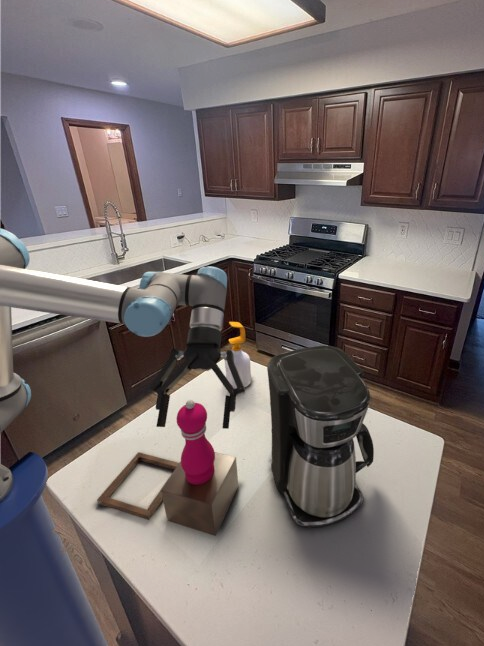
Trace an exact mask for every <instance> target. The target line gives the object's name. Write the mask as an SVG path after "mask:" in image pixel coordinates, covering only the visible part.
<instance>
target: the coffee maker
mask: <svg viewBox="0 0 484 646" xmlns="http://www.w3.org/2000/svg"><path fill="white" fill-rule="evenodd" d="M266 366H267V367H266V369H267V379H268V390H269V401H270V403H269V404H270V420H271V421H270V422H271V464H270V466H271V471H272V475H273V478H274V483H275V484H276V488H277V491H278V492H279V493H280V494H282V495H283V497H284V500H285V501H286V504H287V507H288V510H289V513H290V516H291V519H292V520H293V522H294V523H295V524H296V525H298V526H299V527H303V528H307V527H308V528H317V527H324V526H328V525H331V524H335V523H338V522H340V521H342V520H343V519H345V518H347V517H349V516H350V515H352V514H353V513H354V512H355V511H356V510H357V509H358V508H360V507H361V505H362V503H363V501H364V497H363V493H362V491H361V489H360V488H359V486H358V485H357V483H356V477H357V476H356V475H357V473H358V472H360V471H361V470H363V468H365V467H367V468H369V467H370V466H371V465H372V463H373V462H374V458H375V455H374V454H375V451H374V443H373V442H374V441H373V438H372V436H371V432H370V431H369V429H368V427H367V426H366V425H365V423H364V420H365V419H366V416H367V413H368V410H369V407H370V403H371V393H370V390H369V387H368V386H367V384H366V382H365V380H363V378H364V374H365V373H364V371H363V370H362V369H361V367H360V366H359V365H358V364H357V363H356V362H355V360H353V359H352V358H351V357H350V356H349V355H348V353H347V354H346V352H345V351H343V350H342V349H340V348H338V347H336V346H333V345H316V346H315V345H314V346H308V347H303V348H298V349H293V350H290V351H289V350H288V351H285V352H282V353H279V354H277V355H274V356H272V357H271V358H270V359H269V360H268V362H267V365H266ZM355 438H356V440H357V444H358V447H359V451H360V453H361V457H362V460H359V461H356V458H357V457H356V448H355V447H356V446H355V441H354V439H355Z"/></svg>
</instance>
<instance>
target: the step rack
mask: <svg viewBox="0 0 484 646" xmlns="http://www.w3.org/2000/svg"><path fill="white" fill-rule="evenodd" d="M214 452H215V460H214V474H213V476H212V477H211V478H210V479H209V480H208V481H207V482H205V483H203V484H199V485H194V484H191V483H189V482H188V481H187V479H186V476H185V471H184V470H183V469H182V466H181V461H180V462H177V461H174V460H169V459H165V458H161V457H159V456H158V457H157V456H154V455H150V454H146V453H144V452H143V453H142V452H137V453H136V455H135V456H133V458H132V459H131V460H130V461H129V462H128V463H127V465H125V467H124V468H123V469H122V470H121V472H119V474H118V475H117V476H116V477H115V478H114V480H113V481H111V483H110V484H109V485H108V486H107V488H106V489H105V490H104V491H103V492H102V493H101V495H99V497H98V498H97V499H96V501H97V504H98V505H100V506H104V507H107V508H110V509H112V510H115V511H119V512H122V513H125V514H129V515H131V516H134V517H138V518H140V519H144V520H148V521H150V520H151V518H152V517H153V515H154V514H155V512H156V511H157V509H158V508H159V506H160V505H161V503H162V502H163V507H164V511H165V516H166V520H167V522H170V523H174V524H177V525H180V526H183V527H186V528H189V529H192V530H195V531H198V532H201V533H205V534H207V535H211V536H214V537H216V536H217V534H218V532H219V530H220V528H221V526H222V524H223V522H224V519H225V517H226V514H227V512H228V510H229V508H230V506H231V504H232V502H233V499H234V497H235V495H236V493H237V490H238V489H239V477H238V466H237V457H236V456H232V455H229V454H225V453H220V452H216V451H214ZM140 462H145V463H148V464H151V465H155V466H158V467H163V468H165V469H170V470H173V471H172V473H171V474H170V476H169V477H168V478H167V480H166V482H165V483H164V484H163V486H162V487H161V489H160V490H159V492H158V493H157V494H156V495H155V498H154V499H153V500H152V502H151V503H150V505H148V507H147V508H143V507H140V506H137V505H133V504H130V503H127V502H124V501H121V500H117V499H114V498H111V496H112V495H113V494H114V493H115V491H116V490H117V489H118V488H119V486H120V485H121V484H122V483H123V481H125V479H126V478H127V477H128V476H129V474H130V473H131V472H132V471H133V470H134V468H136V466H137V465H138V464H139V463H140Z"/></svg>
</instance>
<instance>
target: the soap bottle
mask: <svg viewBox="0 0 484 646" xmlns="http://www.w3.org/2000/svg"><path fill="white" fill-rule="evenodd" d="M228 324H229V325H230V327H232V328H236V329H239V333H240V334H239V336H235V337H232V338H229V339H228V342H229V343H230V345H231V346H232V347H231V351H232V352H233V354H234V363H235V366H236V368H237V371H238V373H239V376H240V378H241V381H242V383H243V386H244V388H245V389H246V387H248V386H249V385H251V383H252V371H251V357H250V356H249V354H248V353H247V352H245V351H243V350H242V346H241V345H240V344H242V343H243V344H244V343H245V342H246V338H247V337H246V328H245V327H244V326H243V325H242V323H240V322H238V321H228ZM224 368H225V377H226V378H227V379H228V381H229V382H230V384H231V385H232V386H233V388H234V389H236V388H237V386H236V384H235V381H234V379H233V376H232V374H231V371H230V369H229V366H228V363H227V361H225V360H224Z"/></svg>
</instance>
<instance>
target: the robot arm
mask: <svg viewBox="0 0 484 646" xmlns="http://www.w3.org/2000/svg"><path fill="white" fill-rule="evenodd" d="M29 265H30V253H29V250H28V248H27V246H26V245H25V244H24V242H23V241H22V240H20V239H19V238H18V237H17V235H15V234H14V233H12V232H10V231H9V230H6V229H4V228H1V227H0V434H2V433H3V431H4V430H5V429H7V427H9V425H10V424H12V423H13V421H15V419H17V417H19V416H20V415H21V414H22V413H23V412H24V410H26V407H27V406H28V405H29V403H30V402H31V398H32V391H31V387H30V385H29V384H28V383H25V382H26V380H24V378H22V377H21V376H20V375H19V374H17V373H15V372H14V349H13V323H12V322H13V321H12V320H13V319H12V308H14V309H20V310H27V311H32V312H33V311H34V312H41V313H48V314H54V315H61V316H68V317H76V318H82V319H89V320H95V321H101V322H108V323H116V324H122V325H125V326H126V328H127V329H128V330H129V331H130V332H131V333H133V334H135V335H136V336H139V337H143V338H145V337H146V338H148V337H149V338H150V337H154V336H156V335H158V334H160V333H161V332H162V331H163V330H164V329H165V327H166V326H167V325H168V324H169V322H170V321H171V319H172V316H173V314H174V312H175V310H176V309H177V307H178V306H183V307H184V306H185V307H192V308H191V313H190V314H191V315H190V320H189V328H190V329H188V334H187V340H186V348H185V350H178V349H176V348H172V349H171V351H170V354H169V357H168V359H167V360H166V362H165V363H164V365H163V367H162V368H161V369H160V371H159V372H158V374H157V375H156V377H155V378H154V379H153V381H152V383H151V384H150V385H149V390H150V391H153V392H155V393H156V394H157V395H156V396H157V397H156V402H155V410H157V411H158V413H157V414H158V415H157V421H156V426H155V427H157V428H166V423H167V419H168V412H169V411H168V410H169V405H170V399H171V395H170V394H168V393H169V392H170V391H171V390H172V389H173V388H174V387H175V386H176V385H177V384H178V383H179V382H180V381H181V380H182V379H183V378H184V377H185V376H186V375H187V374H188V373H190V372H191V371H192V370H193V371H195V372H199V371H204V372H209V371H211V370H212V372H214V374H215V376H216V377H217V378H218V380H219V381H220V383H221V384H222V385H223V387H224V388H225V390H226V391H227V393H229V395H224V396H225V399H224V409H223V419H222V429H223V430H225V429H226V430H228V429H230V418H231V417H230V416H231V413H235V410H236V405H237V397H238V396H239V395H242V394H245V392H246V387H245V388H244V386H243V383H242V381H241V378H240V376H239V373H238V371H237V368H236V366H235V363H234V354H233V352H232V349H227V350H225V351H221V347H222V346H221V345H222V335H223V334H222V330H223V326H224V318H225V309H226V308H225V307H226V300H227V299H226V298H227V293H228V275H227V273H226V272H225V271H224V269H221V268H219V267H216V266H209V265H208V266H202V267H200V268H199V269H198V270H197V273H196V274H181V273H172V272H171V273H170V272H164V271H146V272H144V273H143V274H142V276H141V278H140V282H139V286H138V287H139V288H138V287H137V288H136V287H131V286H125V285H119V284H115V283H109V282H101V281H96V280H90V279H84V278H78V277H74V276H73V277H72V276H67V275H61V274H55V273H49V272H44V271H40V270H39V271H38V270H32V269H27V268H28V267H29ZM182 358H184V362H182V363H181V365H180V366H179V368H177V370H176V371H175V372H173V370H174V369H175V367H176V366H177V365H178V362H179V361H180V360H181V359H182ZM222 358H223V361H224V362H225V361H227V363H228V366H229V369H230V371H231V374H232V376H233V379H234V381H235V384H236V386H237V388H236V389H234V388H233V386H232V385H231V384H230V382H229V381H228V379H227V378H226V374H224V372H223V370H221V368H220V367H219V365H218V364H217V363H218V362H219V361H220V360H221V359H222ZM172 372H173V374H171V373H172ZM169 376H170V377H169ZM8 468H9V467H6V466H5V465H3V464H2V463H0V503H1V502H2V501H3V500H4V499H5V498H6V497H7V496H8V494H9V493H10V491H11V490H12V488H13V485H14V477H13V475H12V473H11V471H10V470H9V469H8Z"/></svg>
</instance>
